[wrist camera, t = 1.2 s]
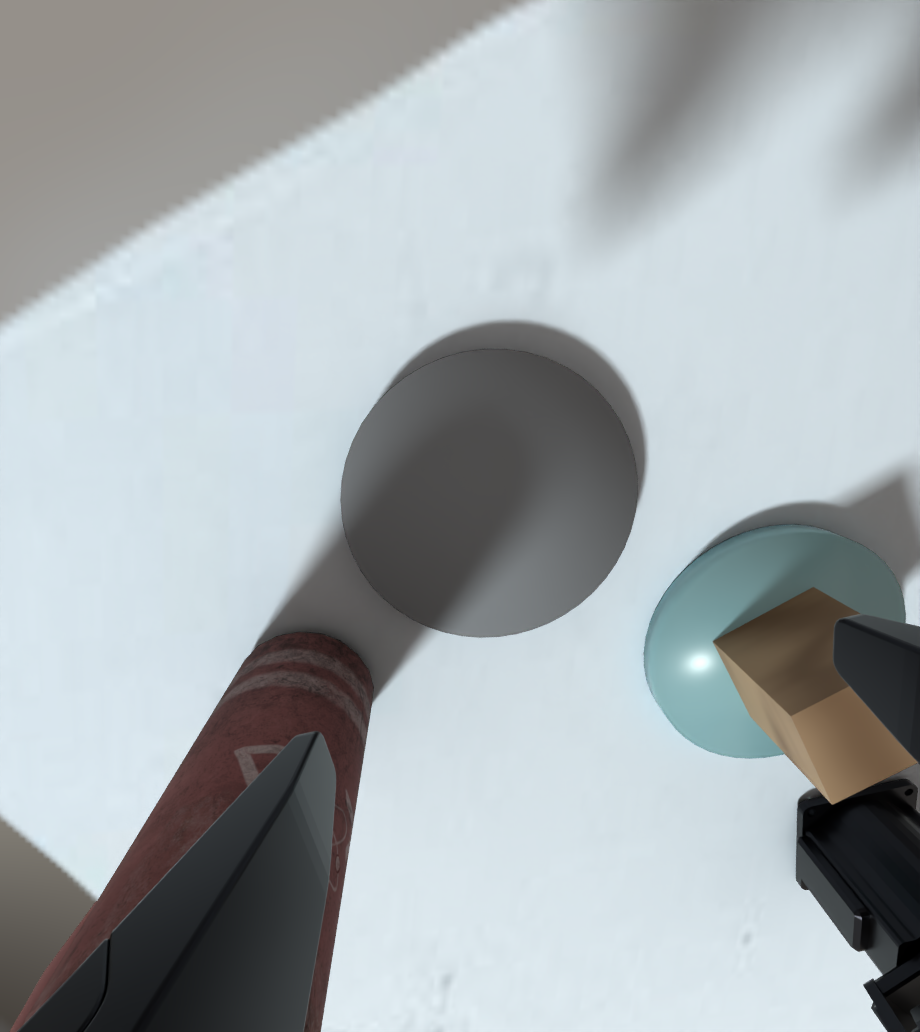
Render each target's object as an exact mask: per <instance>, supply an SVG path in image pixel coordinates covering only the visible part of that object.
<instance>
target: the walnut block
mask: <svg viewBox="0 0 920 1032" xmlns="http://www.w3.org/2000/svg"><path fill="white" fill-rule="evenodd" d="M858 614H860V613H859V612H857V611H855V610H853V609H852V608H850V607H848V606H846V605H845V604H843V603H841V602H839V601H837V600H836V599H834V598H832V597H830V596H829V595H827V594H825V593H823V592H822V591H820V590H818V589H816V588H815V587H812V588H810V589H808V590H807V591H805V592H803V593H801V594H799V595H797V596H795V597H794V598H792V599H790V600H788V601H786V602H784V603H782V604H781V605H779V606H777V607H775V608H773V609H771V610H770V611H768V612H766V613H764V614H762V615H760V616H758V617H757V618H755V619H753V620H751V621H749V622H747V623H745V624H744V625H742V626H740V627H738V628H736V629H734V630H732V631H731V632H729V633H727V634H725V635H723V636H721V637H720V638H718V639H716V640H714V641H712V642H713V644H714V646H715V647H716V649H717V651H718V653H719V655H720V657H721V659H722V661H723V663H724V665H725V667H726V669H727V671H728V673H729V675H730V677H731V679H732V681H733V683H734V685H735V687H736V689H737V691H738V693H739V695H740V697H741V699H742V701H743V703H744V705H745V707H746V709H747V711H748V713H749V715H750V717H751V718H752V719H753V720H754V721H755V722H756V723H757V724H758V725H759V727H760V728H761V729H762V730H763V731H764V732H765V733H766V734H767V735H768V736H769V737H770V738H771V739H772V741H773V742H774V743H775V744H776V745H777V746H778V747H779V748H780V749H781V750H782V751H783V752H784V754H785V755H786V756H787V757H788V758H789V759H790V760H791V761H792V762H793V763H794V764H795V765H796V766H797V768H798V769H799V770H800V771H801V772H802V773H803V774H804V775H805V776H806V777H807V778H808V779H809V780H810V782H811V783H812V784H813V785H814V786H815V787H816V788H817V789H818V790H819V791H820V792H821V793H822V794H823V796H824V797H825V798H826V799H827V800H828V801H829V802H830V803H831V804H832V805H833V804H835V803H837V802H839V801H841V800H843V799H845V798H847V797H849V796H851V795H853V794H855V793H857V792H859V791H861V790H864V789H866V788H868V787H870V786H872V785H874V784H876V783H878V782H880V781H882V780H884V779H886V778H888V777H890V776H892V775H894V774H896V773H898V772H900V771H902V770H904V769H906V768H908V767H910V766H912V765H914V764H916V763H918V762H917V761H916V760H915V759H914V758H913V757H912V756H911V755H910V754H909V753H908V752H907V751H906V750H905V749H904V747H903V746H902V745H901V744H900V743H899V742H898V741H897V740H896V739H895V738H894V736H893V735H892V734H891V733H890V732H889V731H888V730H887V729H886V727H885V726H884V725H883V724H882V723H881V722H880V721H879V719H878V718H877V717H876V716H875V715H874V714H873V713H872V711H871V710H870V709H869V708H868V707H867V706H866V705H865V703H864V702H863V701H862V700H861V699H860V698H859V697H858V696H857V694H856V693H855V692H854V691H853V690H852V689H851V688H850V686H849V685H848V684H847V683H846V682H845V681H844V680H843V678H842V677H841V676H840V675H839V674H838V672H837V670H836V669H835V666H834V663H833V637H834V625H835V623H836V621H837V620H839V619H840V618H844V617H849V616H853V615H858Z"/></svg>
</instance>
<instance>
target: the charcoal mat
mask: <svg viewBox="0 0 920 1032" xmlns="http://www.w3.org/2000/svg"><path fill="white" fill-rule="evenodd" d="M637 494H638V493H637V471H636V465H635V459H634V455H633V451H632V448H631V445H630V441H629V438H628V436H627V434H626V432H625V430H624V427H623V425H622V423H621V421H620V420H619V418H618V416H617V415H616V413H615V412H614V410H613V409H612V407H611V406H610V404H609V403H608V402H607V401H606V400H605V399H604V397H603V396H602V395H601V394H600V393H599V392H598V391H597V390H596V389H595V388H594V387H593V386H592V385H590V384H589V383H588V382H587V381H586V380H585V379H584V378H582V377H581V376H579V375H578V374H576V373H575V372H573V371H571V370H570V369H568V368H567V367H565V366H563V365H561V364H559V363H556V362H554V361H552V360H550V359H548V358H545V357H541V356H538V355H534V354H531V353H528V352H522V351H515V350H508V349H482V350H475V351H467V352H462V353H458V354H455V355H451V356H447V357H444V358H441V359H439V360H437V361H434V362H432V363H430V364H427V365H425V366H423V367H421V368H419V369H418V370H416V371H415V372H413V373H411V374H410V375H408V376H406V377H405V378H403V379H402V380H401V381H400V382H399V383H397V384H396V385H395V386H394V387H392V388H391V389H390V390H389V391H388V392H387V393H386V394H385V395H384V396H383V397H382V398H381V399H380V400H379V401H378V402H377V403H376V405H375V406H374V407H373V408H372V410H371V411H370V412H369V414H368V415H367V417H366V418H365V420H364V421H363V422H362V424H361V426H360V428H359V430H358V432H357V434H356V436H355V438H354V439H353V441H352V444H351V447H350V450H349V453H348V456H347V458H346V462H345V467H344V471H343V476H342V484H341V512H342V521H343V526H344V530H345V535H346V538H347V541H348V544H349V547H350V549H351V552H352V555H353V557H354V559H355V560H356V562H357V564H358V566H359V568H360V570H361V572H362V573H363V574H364V576H365V577H366V579H367V580H368V581H369V583H370V584H371V586H372V587H373V588H374V589H375V590H376V591H377V592H378V593H379V594H380V595H381V596H382V597H383V598H384V599H385V600H386V601H387V602H388V603H390V604H391V605H392V606H393V607H394V608H396V609H397V610H398V611H400V612H401V613H403V614H404V615H406V616H408V617H409V618H411V619H412V620H415V621H417V622H419V623H421V624H423V625H425V626H427V627H430V628H433V629H436V630H439V631H442V632H445V633H450V634H455V635H460V636H468V637H500V636H507V635H513V634H518V633H522V632H525V631H529V630H533V629H535V628H538V627H540V626H543V625H545V624H548V623H550V622H552V621H554V620H556V619H557V618H559V617H561V616H563V615H565V614H566V613H568V612H569V611H571V610H572V609H574V608H575V607H576V606H578V605H579V604H581V603H582V602H583V601H584V600H585V599H586V598H587V597H588V596H590V595H591V594H592V593H593V592H594V591H595V590H596V589H597V588H598V586H599V585H600V584H601V583H602V582H603V581H604V580H605V579H606V577H607V576H608V574H609V573H610V571H611V570H612V569H613V567H614V566H615V564H616V563H617V561H618V559H619V557H620V555H621V553H622V551H623V550H624V548H625V545H626V542H627V540H628V537H629V535H630V532H631V529H632V525H633V521H634V517H635V512H636V503H637Z"/></svg>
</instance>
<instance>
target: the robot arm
mask: <svg viewBox="0 0 920 1032" xmlns="http://www.w3.org/2000/svg"><path fill="white" fill-rule="evenodd" d="M833 663H834V666H835V669H836V670H837V672H838V674H839V675H840V676H841V677H842V678H843V680H844V681H845V682H846V683H847V684H848V685H849V686H850V688H851V689H852V690H853V691H854V692H855V693H856V694H857V696H858V697H859V698H860V699H861V700H862V701H863V702H864V703H865V705H866V706H867V707H868V708H869V709H870V710H871V711H872V713H873V714H874V715H875V716H876V717H877V718H878V719H879V721H880V722H881V723H882V724H883V725H884V726H885V727H886V729H887V730H888V731H889V732H890V733H891V734H892V735H893V736H894V738H895V739H896V740H897V741H898V742H899V743H900V744H901V745H902V746H903V747H904V749H905V750H906V751H907V752H908V753H909V754H910V755H911V756H912V757H913V758H914V759H915V760H916V761H917V762H918V763H919V764H920V627H919V626H915V625H911V624H906V623H902V622H897V621H893V620H889V619H884V618H880V617H875V616H871V615H866V614H858V615H853V616H849V617H844V618H840V619H839V620H837V621H836V623H835V625H834V637H833ZM335 792H336V772H335V768H334V764H333V762H332V759H331V756H330V753H329V750H328V747H327V745H326V742H325V739H324V737H323V735H322V733H321V732H319V731H313V732H308V733H304V734H299V735H297V736H295V737H294V738H293V739H292V740H291V741H290V742H289V743H288V744H287V745H286V746H285V747H284V748H283V749H282V750H281V752H280V753H279V754H278V755H277V756H276V757H275V758H274V759H273V760H272V761H271V762H270V763H269V764H268V765H267V766H266V768H265V769H264V770H263V771H262V772H261V773H260V774H259V775H258V776H257V777H256V778H255V779H254V780H253V781H252V783H251V784H250V785H249V786H248V787H247V788H246V789H245V790H244V791H243V792H242V793H241V794H240V795H239V796H238V798H237V799H236V800H235V801H234V802H233V803H232V804H231V805H230V806H229V807H228V808H227V809H226V810H225V811H224V813H223V814H222V815H221V816H220V817H219V818H218V819H217V820H216V821H215V822H214V823H213V824H212V825H211V826H210V827H209V829H208V830H207V831H206V832H205V833H204V834H203V835H202V836H201V837H200V838H199V839H198V840H197V841H196V842H195V844H194V845H193V846H192V847H191V848H190V849H189V850H188V851H187V852H186V853H185V854H184V855H183V856H182V857H181V859H180V860H179V861H178V862H177V863H176V864H175V865H174V866H173V867H172V868H171V869H170V870H169V871H168V872H167V874H166V875H165V876H164V877H163V878H162V879H161V880H160V881H159V882H158V883H157V884H156V885H155V886H154V887H153V888H152V890H151V891H150V892H149V893H148V894H147V895H146V896H145V897H144V898H143V899H142V900H141V901H140V902H139V903H138V905H137V906H136V907H135V908H134V909H133V910H132V911H131V912H130V913H129V914H128V915H127V916H126V917H125V918H124V919H123V921H122V922H121V923H120V924H119V925H118V926H117V927H116V928H115V929H114V930H113V931H112V933H111V934H110V939H105V940H104V941H103V942H102V943H101V944H100V945H99V946H98V947H97V948H96V949H95V950H94V951H93V952H92V954H91V955H90V956H89V957H88V958H87V959H86V960H85V961H84V962H83V963H82V964H81V965H80V966H79V967H78V968H77V970H76V971H75V972H74V973H73V974H72V975H71V976H70V977H69V978H68V979H67V980H66V981H65V982H64V983H63V984H62V985H61V986H60V987H59V988H58V989H57V990H56V991H55V992H54V994H53V995H52V996H51V997H50V998H49V999H48V1000H47V1001H46V1002H45V1003H44V1004H43V1005H42V1006H41V1007H40V1008H39V1009H38V1010H37V1011H36V1012H35V1013H34V1014H33V1015H32V1016H31V1017H30V1019H29V1020H28V1021H27V1022H26V1023H25V1024H24V1025H23V1026H22V1027H21V1028H20V1029H19V1030H17V1031H16V1032H304V1026H305V1020H306V1015H307V1009H308V1003H309V997H310V991H311V985H312V979H313V973H314V968H315V962H316V956H317V950H318V944H319V938H320V932H321V926H322V921H323V915H324V909H325V903H326V897H327V890H328V883H329V875H330V864H331V850H332V835H333V821H334V806H335ZM917 793H918V788H917V787H916V786H915V785H914V784H913V783H912V782H911V781H909V780H907V779H902V780H897V781H893V782H888V783H884V784H879V785H874V786H870V787H868V788H866V789H864V790H861V791H859V792H857V793H855V794H853V795H851V796H849V797H847V798H845V799H843V800H841V801H839V802H837V803H835V804H833V805H832V804H831V803H830V802H829V801H828V800H827V799H826V798H825V797H824V796H823V797H819V798H814V799H809V800H805V801H803V802H801V803H800V804H799V806H798V809H797V847H796V881H797V882H798V884H799V885H800V886H801V888H802V889H804V890H810V892H811V893H812V894H813V896H814V897H815V898H816V900H817V901H818V902H819V904H820V905H821V907H822V908H823V909H824V911H825V912H826V913H827V915H828V916H829V917H830V919H831V920H832V922H833V923H834V924H835V926H836V927H837V928H838V930H839V931H840V932H841V934H842V935H843V937H844V938H845V939H846V941H847V942H848V943H849V945H850V946H851V947H852V948H854V949H855V950H856V951H858V952H860V951H865V952H866V953H867V955H868V956H869V957H870V959H871V960H872V961H873V963H874V964H875V965H876V966H877V968H878V969H879V970H880V972H881V973H882V974H883V976H881V977H880V978H878V979H876V980H874V979H871V980H870V981H868V982H866V983H865V984H863V986H864V987H865V989H866V991H867V992H868V994H869V995H870V997H871V999H872V1000H873V1004H872V1007H871V1009H872V1010H873V1011H874V1013H875V1014H876V1016H877V1017H878V1019H879V1020H880V1022H881V1023H882V1024H883V1026H884V1027H885V1029H886V1030H887V1032H920V813H919V812H917V811H916V801H917Z"/></svg>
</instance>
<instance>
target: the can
mask: <svg viewBox="0 0 920 1032" xmlns="http://www.w3.org/2000/svg"><path fill="white" fill-rule="evenodd" d="M373 689H374V687H373V683H372V680H371V676H370V672H369V670H368V668H367V667H366V665H365V664H364V662H363V661H362V660H361V658H360V657H359V655H358V654H357V653H355V652H354V651H353V650H352V649H350V648H349V647H348V646H346V645H345V644H344V643H342V642H341V641H340V640H337V639H334V638H332V637H329V636H326V635H324V634H319V633H308V632H297V633H291V634H286V635H281V636H276V637H274V638H273V639H271V640H269V641H267V642H265V643H263V644H261V645H259V646H258V647H257V648H256V649H255V650H254V651H253V652H252V653H251V654H250V655H249V656H248V657H247V658H246V659H245V661H244V662H243V664H242V665H241V667H240V669H239V670H238V672H237V674H236V675H235V677H234V679H233V680H232V682H231V683H230V685H229V687H228V688H227V690H226V692H225V693H224V695H223V697H222V698H221V700H220V701H219V703H218V705H217V706H216V708H215V710H214V711H213V713H212V714H211V716H210V718H209V719H208V721H207V723H206V724H205V726H204V728H203V729H202V731H201V732H200V734H199V736H198V737H197V739H196V741H195V742H194V744H193V746H192V747H191V749H190V750H189V752H188V754H187V755H186V757H185V759H184V760H183V762H182V764H181V765H180V767H179V768H178V770H177V772H176V773H175V775H174V777H173V778H172V780H171V781H170V783H169V785H168V786H167V788H166V790H165V791H164V793H163V795H162V796H161V798H160V799H159V801H158V803H157V804H156V806H155V808H154V809H153V811H152V813H151V814H150V816H149V817H148V819H147V821H146V822H145V824H144V826H143V827H142V829H141V830H140V832H139V834H138V835H137V837H136V839H135V840H134V842H133V844H132V845H131V847H130V848H129V850H128V852H127V853H126V855H125V857H124V858H123V860H122V862H121V863H120V865H119V866H118V868H117V870H116V871H115V873H114V875H113V876H112V878H111V880H110V881H109V883H108V884H107V886H106V888H105V889H104V891H103V893H102V894H101V896H100V897H99V899H98V901H96V902H95V903H94V905H93V906H92V908H91V909H90V910H89V912H88V913H87V914H86V915H85V917H84V918H83V920H82V921H81V922H80V924H79V925H78V926H77V928H76V929H75V931H74V932H73V933H72V934H71V936H70V937H69V939H68V940H67V941H66V943H65V944H64V945H63V947H62V948H61V950H60V951H59V952H58V954H57V955H56V956H55V958H54V959H53V960H52V962H51V963H50V964H49V966H48V967H47V969H46V970H45V971H44V973H43V975H42V976H41V978H40V980H39V982H38V983H37V985H36V987H35V989H34V990H33V992H32V994H31V995H30V997H29V999H28V1001H27V1002H26V1004H25V1006H24V1008H23V1009H22V1011H21V1013H20V1015H19V1016H18V1018H17V1020H16V1022H15V1023H14V1025H13V1027H12V1029H11V1030H10V1032H16V1031H17V1030H19V1029H20V1028H21V1027H22V1026H23V1025H24V1024H25V1023H26V1022H27V1021H28V1020H29V1019H30V1017H31V1016H32V1015H33V1014H34V1013H35V1012H36V1011H37V1010H38V1009H39V1008H40V1007H41V1006H42V1005H43V1004H44V1003H45V1002H46V1001H47V1000H48V999H49V998H50V997H51V996H52V995H53V994H54V992H55V991H56V990H57V989H58V988H59V987H60V986H61V985H62V984H63V983H64V982H65V981H66V980H67V979H68V978H69V977H70V976H71V975H72V974H73V973H74V972H75V971H76V970H77V968H78V967H79V966H80V965H81V964H82V963H83V962H84V961H85V960H86V959H87V958H88V957H89V956H90V955H91V954H92V952H93V951H94V950H95V949H96V948H97V947H98V946H99V945H100V944H101V943H102V942H103V941H104V940H105V939H110V934H111V933H112V931H113V930H114V929H115V928H116V927H117V926H118V925H119V924H120V923H121V922H122V921H123V919H124V918H125V917H126V916H127V915H128V914H129V913H130V912H131V911H132V910H133V909H134V908H135V907H136V906H137V905H138V903H139V902H140V901H141V900H142V899H143V898H144V897H145V896H146V895H147V894H148V893H149V892H150V891H151V890H152V888H153V887H154V886H155V885H156V884H157V883H158V882H159V881H160V880H161V879H162V878H163V877H164V876H165V875H166V874H167V872H168V871H169V870H170V869H171V868H172V867H173V866H174V865H175V864H176V863H177V862H178V861H179V860H180V859H181V857H182V856H183V855H184V854H185V853H186V852H187V851H188V850H189V849H190V848H191V847H192V846H193V845H194V844H195V842H196V841H197V840H198V839H199V838H200V837H201V836H202V835H203V834H204V833H205V832H206V831H207V830H208V829H209V827H210V826H211V825H212V824H213V823H214V822H215V821H216V820H217V819H218V818H219V817H220V816H221V815H222V814H223V813H224V811H225V810H226V809H227V808H228V807H229V806H230V805H231V804H232V803H233V802H234V801H235V800H236V799H237V798H238V796H239V795H240V794H241V793H242V792H243V791H244V790H245V789H246V788H247V787H248V786H249V785H250V784H251V783H252V781H253V780H254V779H255V778H256V777H257V776H258V775H259V774H260V773H261V772H262V771H263V770H264V769H265V768H266V766H267V765H268V764H269V763H270V762H271V761H272V760H273V759H274V758H275V757H276V756H277V755H278V754H279V753H280V752H281V750H282V749H283V748H284V747H285V746H286V745H287V744H288V743H289V742H290V741H291V740H292V739H293V738H294V737H295V736H297V735H299V734H304V733H308V732H313V731H319V732H321V733H322V735H323V737H324V739H325V742H326V745H327V747H328V750H329V753H330V756H331V759H332V762H333V764H334V768H335V772H336V792H335V806H334V821H333V835H332V850H331V864H330V875H329V883H328V890H327V897H326V903H325V909H324V915H323V921H322V926H321V932H320V938H319V944H318V950H317V956H316V962H315V968H314V973H313V979H312V985H311V991H310V997H309V1003H308V1009H307V1015H306V1020H305V1026H304V1032H321V1026H322V1019H323V1013H324V1007H325V1000H326V994H327V987H328V981H329V975H330V968H331V962H332V955H333V949H334V943H335V936H336V930H337V924H338V917H339V911H340V904H341V898H342V892H343V885H344V879H345V872H346V866H347V860H348V853H349V847H350V841H351V834H352V828H353V821H354V815H355V809H356V802H357V796H358V789H359V783H360V777H361V770H362V764H363V758H364V751H365V745H366V738H367V732H368V726H369V719H370V713H371V706H372V698H373Z"/></svg>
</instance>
